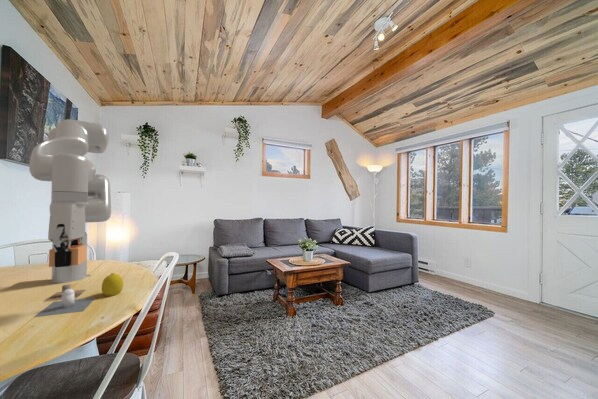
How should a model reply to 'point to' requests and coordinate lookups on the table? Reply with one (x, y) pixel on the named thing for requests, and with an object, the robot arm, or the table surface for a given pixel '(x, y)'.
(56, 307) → the plate
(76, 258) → the collar
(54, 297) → the stand
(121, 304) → the table surface
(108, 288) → the lemon
